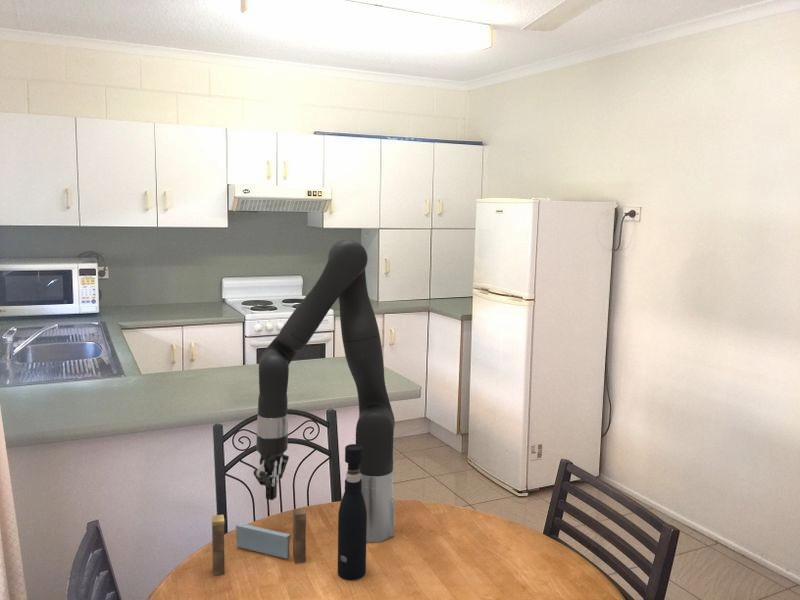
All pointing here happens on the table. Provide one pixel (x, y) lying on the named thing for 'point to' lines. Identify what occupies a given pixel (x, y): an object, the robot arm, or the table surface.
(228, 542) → the table surface
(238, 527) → the gate
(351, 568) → the black water bottle
